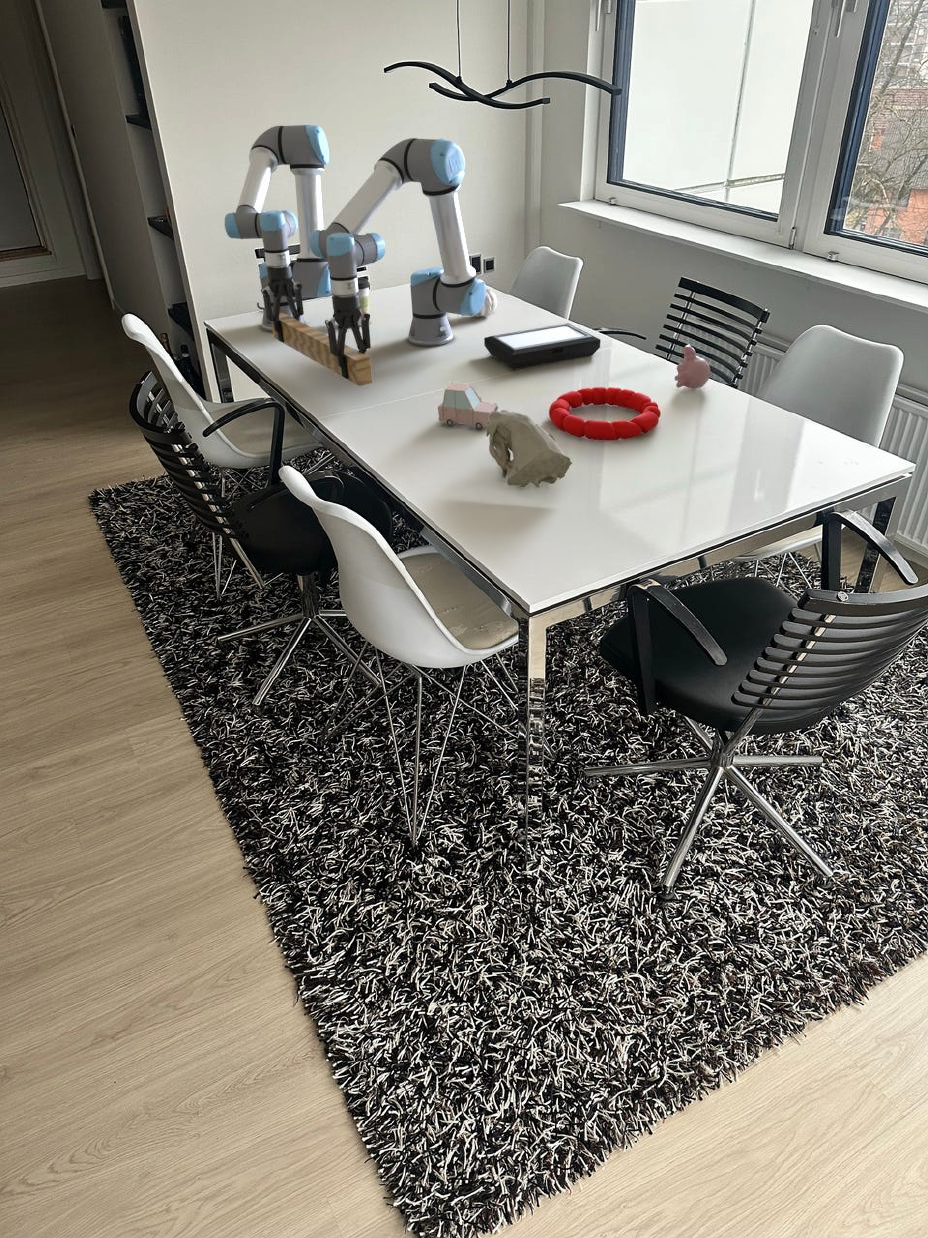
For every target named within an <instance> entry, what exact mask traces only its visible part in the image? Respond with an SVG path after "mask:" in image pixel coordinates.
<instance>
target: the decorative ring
mask: <svg viewBox="0 0 928 1238" xmlns="http://www.w3.org/2000/svg"><path fill="white" fill-rule="evenodd" d="M583 405H584V406H586V407H587V406H591V405H593V406H604V405H608V406H614V407H619V408H624V409H628V410H632V411H635V412H636V413H638V414H639V415H637V416H635V417H632V418H631V419H630V420H625V419H624V420H623V419H622V420H614V421H611V422H609V421H607V420H606V421H605V420H593V419H587V420H586V421H585V419H584V418H582V417H579V416H577V415H573V414H571V413H570V410H571V409H579V408H581V407H582V406H583ZM548 416H549V419H550V422H551V423H552V425H553V426H554V427H555V428H556V429H558V430H559V431H561V432H563V433H567V434H568V435H569V436H573V437H576V438H580V439H582V438H583V437H585V438H586V439H587V440H591V441H601V442H602V441H603V442H608V441H609V442H610V441H611V442H612V441H615V442H616V441H618V440H630V439H634V438H638V437H641V436H642V434H647V433H650V432H651V431H653V430H654V429H655V428H656V427H657V426H658V424H659V422H660V421H659V420H660V417H661V410H660V408H659V405H658V403H657V402H656V401H652V399H651V397H649V396H648V395H646V394H644V393H642V392H635V391H634V390H632V389H628V388H624V389H622V388H620V387H613V386H612V387H611V386H610V387H608V388H606V387H604V386H594V387H585V388H584V387H583V388H580V389H578V390H571V391H568V392H565V393H563V394H561V395H560V396H558V397H557V398H556V400H554V401H552V403H551V404H550V407H549V409H548Z"/></svg>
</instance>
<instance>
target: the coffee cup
mask: <svg viewBox="0 0 928 1238" xmlns="http://www.w3.org/2000/svg"><path fill="white" fill-rule="evenodd" d="M357 281H358V292H357V294H358V295H359V302H360V307H359V308H360V310H361V312H366V313H368V314H370V287H371V283H370V282H369V279H367V278H365V277H357ZM358 325H359V327H360V326H361V318H360V319H359V321H358ZM361 327H362V326H361Z"/></svg>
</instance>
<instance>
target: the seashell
mask: <svg viewBox="0 0 928 1238" xmlns="http://www.w3.org/2000/svg"><path fill="white" fill-rule="evenodd" d="M497 305H498V299H497V297H496V294H495V292H493V291H492V290H491V289H487V288H486V297H485V301H484V304H483V306H482V308H481V310H480V311H479V312H478V313H477V314H476V315H474V316H473V317H476V318H477V317H489V316H490V315H492V313H493V312H494V311H495V310H496V308H497Z"/></svg>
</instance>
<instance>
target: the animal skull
mask: <svg viewBox="0 0 928 1238" xmlns="http://www.w3.org/2000/svg"><path fill="white" fill-rule="evenodd" d="M485 436H486V438H487V437H489V438H488V440H489V444H488V445H489V446H488V450H489V454H490V456H491V457H492V458H493V459H494V460H495V462H496V464H497V466H499V468H500V470H501V471H502V472H501V478H502V479H507V480H506V484H507V486H517V487H518V486H519V488H523V489H524V488H526V486H527V485H529V483H531V485H533V486H534V487H536V488H540V485H541V484H542V482H544V483H549V484H550V485H553V484H555V483H556V482H557V480H561V479H563V478H565V476H566V474H567V472H568V471H569V469H570V467H571V466H572V464H573V462H572V461H571V458H570V457H568V456H567V455H565V453H564V451H562V449H561V448H560V446H559V444H557V443H556V439H555V438H554V436H553V435H551V434H550V433H548V432H547V431H546V430H545V429H544V428H542V427H541V426H539V425H538V424H537V423H536V424H535V422H534V421H533V419H532V418H531V417H530V416H529V415H527V414H524V413H519V412H515V411H509V410H507V409H502V410H500V411H499V410H497V411H496V412H492V413H491V414H490V422H488V423H487V427H486V435H485ZM511 453H512V454H511ZM511 455H512V457H513V458H512V460H511ZM507 474H508V475H507Z"/></svg>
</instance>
